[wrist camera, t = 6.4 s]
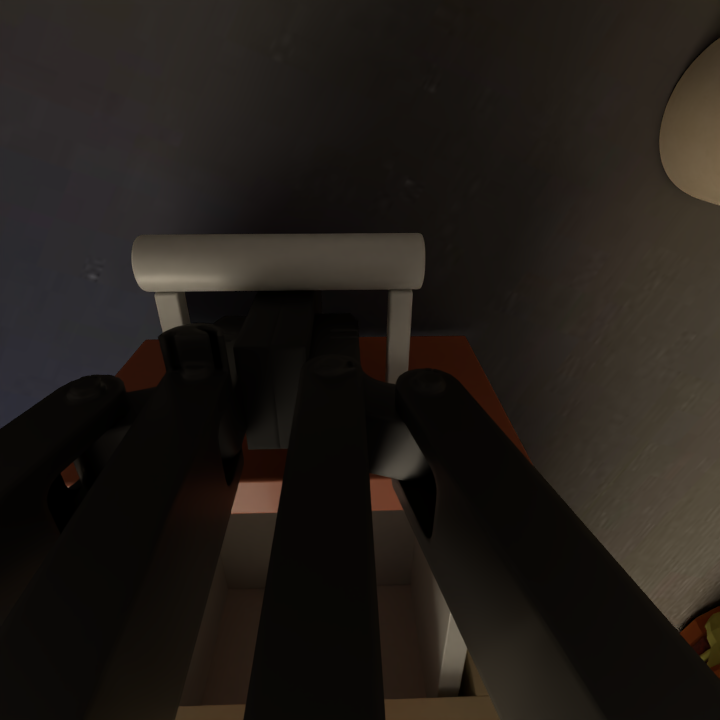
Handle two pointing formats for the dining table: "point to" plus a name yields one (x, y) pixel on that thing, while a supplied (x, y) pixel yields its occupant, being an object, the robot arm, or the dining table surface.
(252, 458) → the drawer
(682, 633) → the cheeseburger
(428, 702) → the small drawer cabinet
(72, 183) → the dining table surface
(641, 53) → the dining table surface
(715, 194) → the candle
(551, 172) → the dining table surface
